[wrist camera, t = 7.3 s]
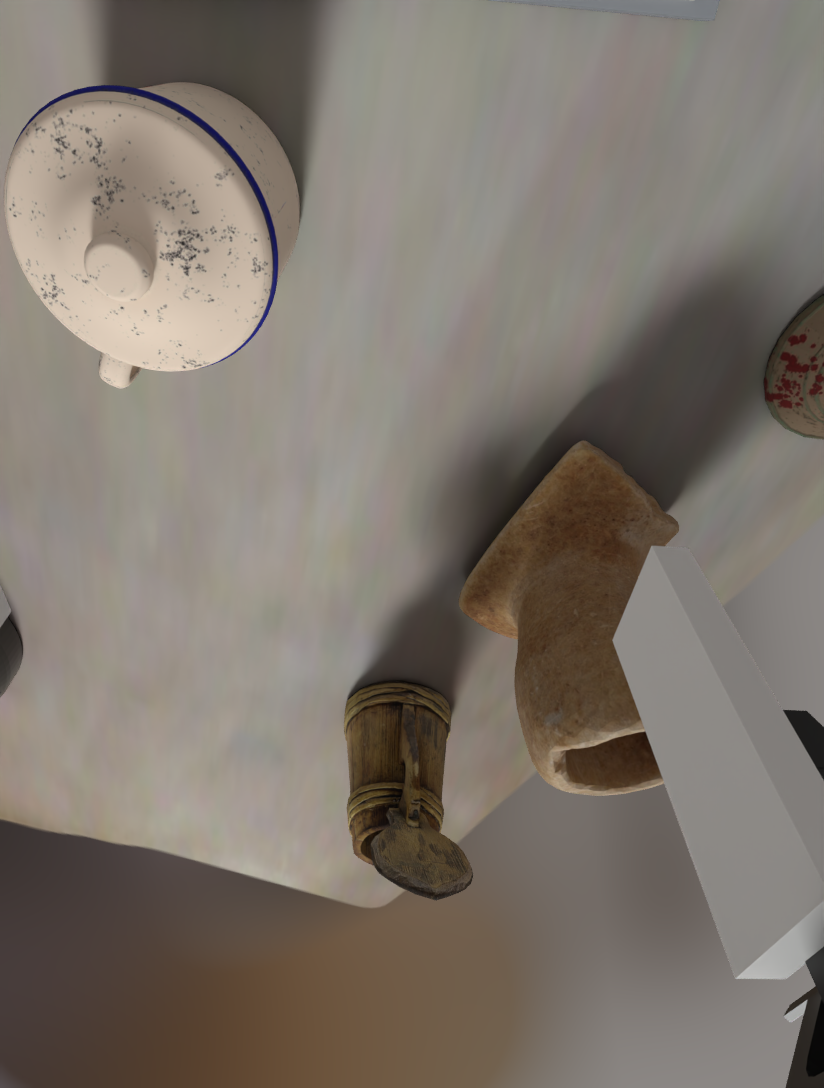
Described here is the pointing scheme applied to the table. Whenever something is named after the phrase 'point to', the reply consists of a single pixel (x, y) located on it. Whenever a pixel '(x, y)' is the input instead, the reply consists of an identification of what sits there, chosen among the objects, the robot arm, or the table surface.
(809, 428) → the candlestick holder
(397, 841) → the wooden mug
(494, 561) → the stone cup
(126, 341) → the teacup with lid
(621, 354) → the table surface
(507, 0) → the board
